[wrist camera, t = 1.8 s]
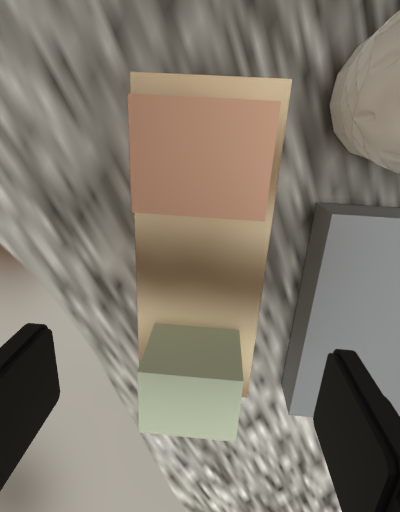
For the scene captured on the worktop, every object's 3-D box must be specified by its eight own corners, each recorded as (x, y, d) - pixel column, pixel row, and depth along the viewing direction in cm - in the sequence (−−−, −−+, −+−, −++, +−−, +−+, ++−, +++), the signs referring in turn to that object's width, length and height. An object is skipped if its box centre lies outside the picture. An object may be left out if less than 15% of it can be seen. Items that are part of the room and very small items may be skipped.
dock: (316, 202, 20) (332, 214, 17) (446, 210, 19) (484, 223, 16) (281, 383, 25) (288, 414, 22) (381, 392, 25) (401, 425, 22)
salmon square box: (153, 103, 14) (127, 93, 10) (264, 109, 14) (281, 101, 10) (153, 193, 15) (131, 212, 12) (254, 199, 15) (264, 221, 11)
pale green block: (154, 323, 18) (137, 372, 14) (239, 330, 18) (243, 381, 14) (154, 375, 20) (139, 432, 16) (232, 382, 19) (235, 441, 16)
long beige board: (153, 87, 18) (129, 71, 13) (273, 93, 18) (292, 79, 13) (155, 340, 25) (139, 387, 20) (242, 347, 24) (246, 397, 20)
